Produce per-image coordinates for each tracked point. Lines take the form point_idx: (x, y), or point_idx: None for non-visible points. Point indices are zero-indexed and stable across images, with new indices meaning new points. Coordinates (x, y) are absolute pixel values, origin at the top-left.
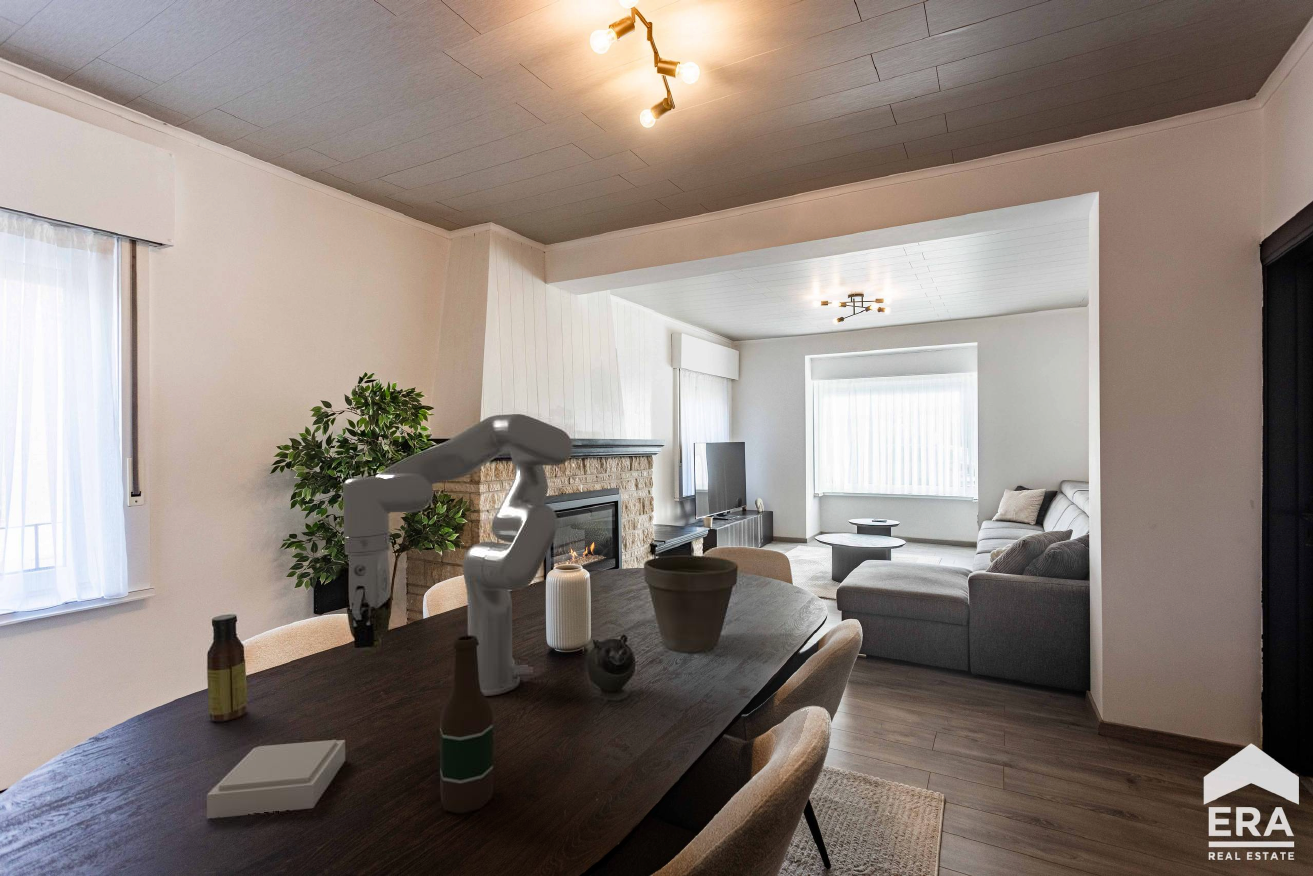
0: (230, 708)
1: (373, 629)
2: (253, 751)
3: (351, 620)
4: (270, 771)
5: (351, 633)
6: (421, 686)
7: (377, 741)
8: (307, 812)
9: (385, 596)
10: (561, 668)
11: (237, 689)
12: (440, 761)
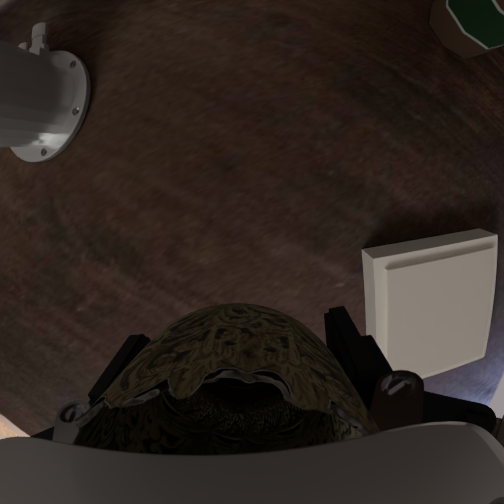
0: None
1: (356, 349)
2: None
3: None
4: (468, 315)
5: (297, 437)
6: (49, 244)
7: (289, 221)
8: None
9: (157, 499)
10: (7, 31)
11: None
12: (498, 44)
